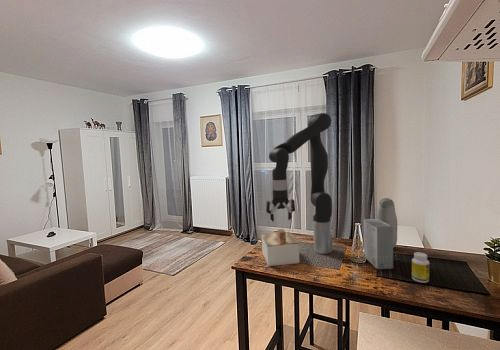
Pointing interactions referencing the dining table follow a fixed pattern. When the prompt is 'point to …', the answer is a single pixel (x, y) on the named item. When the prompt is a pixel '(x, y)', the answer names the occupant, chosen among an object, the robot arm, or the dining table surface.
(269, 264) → the carton
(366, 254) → the hard drive box
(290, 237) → the flap
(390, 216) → the grey bottle
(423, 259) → the pill bottle
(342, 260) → the dining table surface
